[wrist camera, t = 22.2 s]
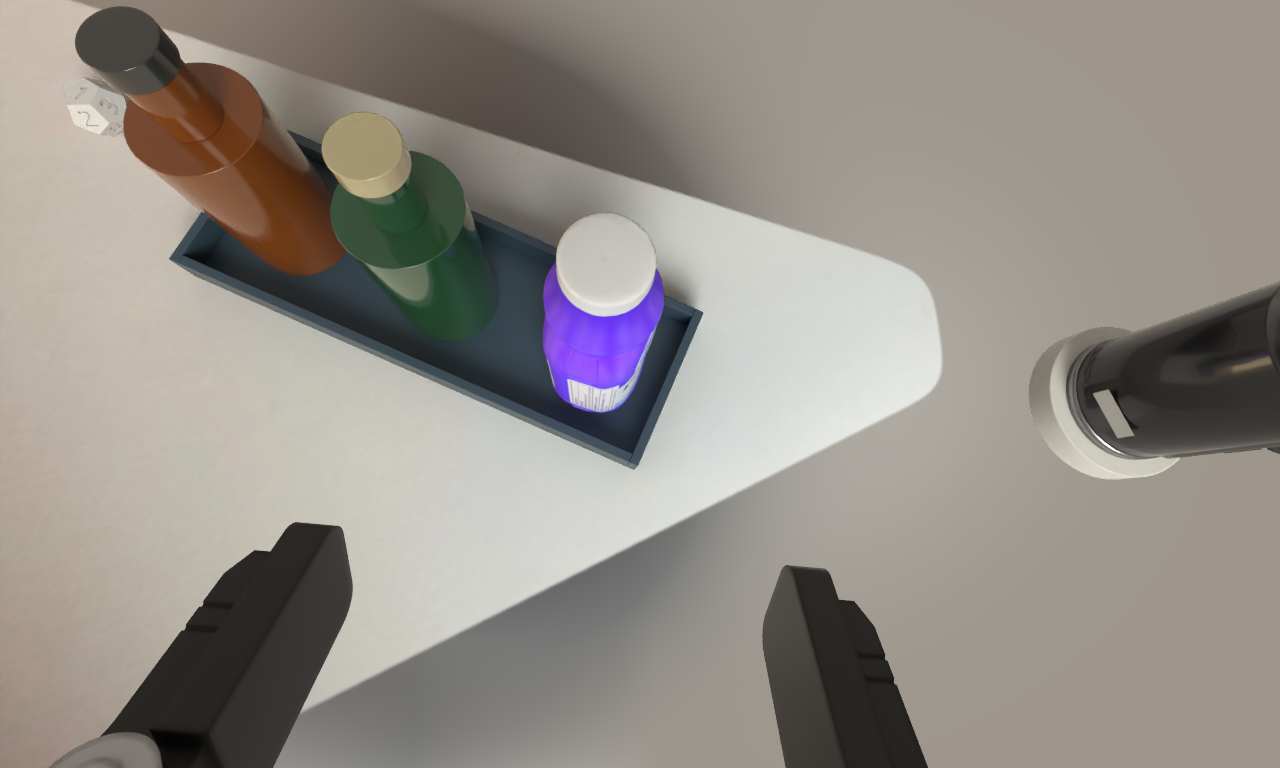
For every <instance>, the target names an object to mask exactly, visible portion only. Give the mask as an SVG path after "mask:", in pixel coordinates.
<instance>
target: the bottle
mask: <svg viewBox="0 0 1280 768" xmlns="http://www.w3.org/2000/svg"><path fill="white" fill-rule="evenodd" d="M543 299H544V309H545V314H546V315H545V320H544V326H543V349H544V353H545V356H546V359H547V362H548V366H549V369H550V374H551V378H552V383H553V386H554V389H555V391H556V392H557V394H558V395H559V396H560V397H561V398H562V399H563V400H564V401H566V402H568V403H570V404H571V405H572V406H574V407H576V408H579V409H582V410H585V411H588V412H598V413H605V412H610V411H613V410H615V409H617V408H619V407H620V406H621V405H622V404H623V403H624V402H625V401H626V400H627V399H628V398H629V396H630V395H631V393H632V391H633V390H634V388H635V386H636V384H637V381H638V379H639V376H640V374H641V371H642V368H643V364H644V360H645V356H646V353H647V351H648V349H649V347H650V344H651V342H652V339H653V336H654V333H655V329H656V326H657V324H658V322H659V320H660V318H661V315H662V311H663V307H664V292H663V285H662V281H661V277H660V274H659V272H658V270H657V268H656V252H655V248H654V245H653V243H652V241H651V239H650V237H649V235H648V234H647V233H646V232H645V230H644V229H643V228H642V227H641V226H640V225H639V224H637V223H636V222H634V221H633V220H631V219H629V218H627V217H625V216H622V215H619V214H614V213H597V214H592V215H588V216H586V217H583V218H581V219H579V220H578V221H576V222H575V223H574V224H572V225H571V226H570V227H569V228H568V229H567V230H566V232H565V233H564V234H563V236H562V238H561V239H560V242H559V244H558V248H557V253H556V262H555V263H554V265H553V266H552V268H551V269H550V271H549V273H548V275H547V277H546V280H545V284H544V293H543Z"/></svg>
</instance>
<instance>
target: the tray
mask: <svg viewBox="0 0 1280 768" xmlns="http://www.w3.org/2000/svg"><path fill="white" fill-rule="evenodd" d="M286 130H287V129H286ZM287 132H288V133H289V134H290V136H291V137H292V138H293V139H294V141H295V142H296V143H297V145H298V146H299V147H300V149H301V150H302V151H303V153H304V154H305V155H306V157H307V158H308V159H309V161H310V162H311V163H312V165H313V166H314V167H315V169H316V170H317V171H318V173H319V174H320V175H321V177H322V178H323V179H324V181H325V182H326V183H327V185H328V186H329V187H330V189H331V190H332V191H333V193H334V191H335V189H336V187H337V185H338V183H339V182H338V180H337V179H336V178H335V176H334V175H333V173H332V172H331V171H330V169H329V168H328V166H327V165H326V163H325V161H324V159H323V156H322V145H321V144H318V143H316V142H314V141H312V140H309V139H307V138H305V137H303V136H300V135H298V134H296V133H293V132H291V131H289V130H287ZM470 211H471V210H470ZM471 214H472V217H473V220H474V223H475V225H476V228H477V231H478V234H479V236H480V239H481V242H482V245H483V247H484V250H485V253H486V256H487V258H488V261H489V264H490V267H491V269H492V272H493V275H494V278H495V280H496V283H497V287H498V293H499V300H498V306H497V310H496V312H495V315H494V317H493V318H492V320H491V322H490V323H489V324H488V325H487V326H486V327H485V328H484V329H483V330H482V331H481V332H479V333H478V334H477V335H475V336H473V337H471V338H469V339H466V340H463V341H459V342H439V341H435V340H432V339H429V338H427V337H425V336H423V335H422V334H420V333H419V332H417V331H416V330H415V329H414V328H413V327H412V326H411V324H410V323H409V322H408V321H407V320H406V319H405V318H404V316H403V315H402V314H401V313H400V312H399V311H398V309H397V308H396V307H395V306H394V305H393V304H392V303H391V301H390V300H389V299H388V298H387V297H386V296H385V294H384V293H383V292H382V291H381V290H380V289H379V288H378V286H377V285H376V284H375V283H374V282H373V281H372V279H371V278H370V277H369V276H368V275H367V274H366V273H365V271H364V270H363V269H362V268H361V267H360V266H359V264H358V263H357V262H356V261H355V260H354V259H353V258H352V256H351V255H350V254H349V253H348V252H347V251H346V252H345V254H344V255H343V256H342V258H341V259H340V260H339V261H338V262H337V263H335V264H334V265H333V266H331V267H330V268H328V269H326V270H324V271H322V272H320V273H317V274H313V275H308V276H290V275H286V274H282V273H280V272H277V271H275V270H273V269H272V268H270V267H269V266H267V265H266V264H265V263H264V262H263V261H261V260H260V259H259V258H258V257H257V256H255V255H254V254H253V253H252V252H250V251H249V250H248V249H247V248H246V247H244V246H243V245H242V244H241V243H239V242H238V241H237V240H236V239H235V238H233V237H232V236H231V235H230V234H228V233H227V232H226V231H225V230H224V229H222V228H221V227H220V226H219V225H217V224H216V223H215V222H214V221H213V220H211V219H210V218H209V217H208V216H206V215H205V214H204V213H203V212H201V214H200V215H199V217H198V218H197V220H196V221H195V222H194V224H193V225H192V227H191V228H190V230H189V231H188V232H187V234H186V235H185V237H184V238H183V240H182V241H181V243H180V244H179V245H178V247H177V248H176V250H175V251H174V253H173V254H172V255H171V257H170V258H169V259H170V260H171V261H173V262H174V263H176V264H177V265H179V266H180V267H182V268H183V269H185V270H187V271H188V272H190V273H191V274H193V275H194V276H197V277H199V278H201V279H203V280H206V281H208V282H210V283H213V284H215V285H217V286H219V287H222V288H224V289H226V290H228V291H231V292H233V293H235V294H237V295H240V296H242V297H244V298H246V299H249V300H251V301H253V302H256V303H258V304H260V305H262V306H265V307H267V308H269V309H271V310H274V311H276V312H278V313H280V314H283V315H285V316H287V317H289V318H292V319H294V320H296V321H299V322H301V323H303V324H305V325H308V326H310V327H312V328H314V329H317V330H319V331H321V332H323V333H326V334H328V335H330V336H332V337H335V338H337V339H339V340H342V341H344V342H346V343H348V344H351V345H353V346H355V347H357V348H360V349H362V350H364V351H366V352H369V353H371V354H373V355H375V356H378V357H380V358H382V359H385V360H387V361H389V362H391V363H394V364H396V365H398V366H400V367H403V368H405V369H407V370H409V371H412V372H414V373H416V374H419V375H421V376H423V377H425V378H428V379H430V380H432V381H434V382H437V383H439V384H441V385H443V386H446V387H448V388H450V389H452V390H455V391H457V392H459V393H462V394H464V395H466V396H468V397H471V398H473V399H475V400H477V401H480V402H482V403H484V404H486V405H489V406H491V407H493V408H495V409H498V410H500V411H502V412H505V413H507V414H509V415H511V416H514V417H516V418H518V419H520V420H523V421H525V422H527V423H529V424H532V425H534V426H536V427H538V428H541V429H543V430H545V431H548V432H550V433H552V434H554V435H557V436H559V437H561V438H563V439H566V440H568V441H570V442H572V443H575V444H577V445H579V446H581V447H584V448H586V449H588V450H591V451H593V452H595V453H597V454H600V455H602V456H604V457H606V458H609V459H611V460H613V461H615V462H618V463H620V464H622V465H624V466H627V467H629V468H631V469H635V468H636V467H637V466H638V465H639V462H640V460H641V458H642V455H643V453H644V451H645V448H646V446H647V444H648V441H649V439H650V436H651V434H652V432H653V429H654V427H655V425H656V422H657V420H658V418H659V415H660V413H661V411H662V408H663V406H664V404H665V401H666V399H667V397H668V394H669V392H670V390H671V387H672V385H673V383H674V380H675V378H676V376H677V373H678V371H679V369H680V366H681V364H682V362H683V359H684V357H685V355H686V352H687V350H688V348H689V345H690V343H691V341H692V338H693V336H694V334H695V331H696V329H697V327H698V324H699V322H700V320H701V317H702V315H703V312H702V311H699V310H697V309H695V308H692V307H690V306H688V305H686V304H683V303H681V302H679V301H676V300H674V299H672V298H670V297H667V296H665V295H664V307H663V311H662V315H661V318H660V320H659V322H658V324H657V326H656V329H655V333H654V336H653V339H652V342H651V344H650V347H649V349H648V351H647V353H646V356H645V360H644V364H643V368H642V371H641V374H640V376H639V379H638V381H637V384H636V386H635V388H634V390H633V391H632V393H631V395H630V396H629V398H628V399H627V400H626V401H625V402H624V403H623V404H622V405H621V406H620V407H619V408H617V409H615V410H613V411H610V412H605V413H598V412H588V411H585V410H582V409H579V408H576V407H574V406H572V405H571V404H570V403H568V402H566V401H564V400H563V399H562V398H561V397H560V396H559V395H558V394H557V392H556V391H555V389H554V386H553V383H552V378H551V374H550V369H549V366H548V362H547V359H546V356H545V353H544V349H543V326H544V320H545V315H546V314H545V309H544V299H543V293H544V284H545V280H546V277H547V275H548V273H549V271H550V269H551V268H552V266H553V265H554V263H555V262H556V253H557V248H556V247H553V246H551V245H549V244H546V243H544V242H542V241H540V240H537V239H535V238H533V237H531V236H528V235H526V234H524V233H521V232H519V231H517V230H515V229H512V228H510V227H508V226H505V225H503V224H501V223H499V222H496V221H494V220H492V219H489V218H487V217H485V216H483V215H480V214H478V213H476V212H474V211H471Z"/></svg>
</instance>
